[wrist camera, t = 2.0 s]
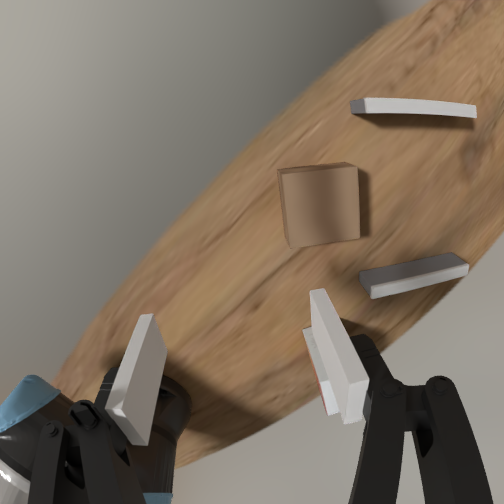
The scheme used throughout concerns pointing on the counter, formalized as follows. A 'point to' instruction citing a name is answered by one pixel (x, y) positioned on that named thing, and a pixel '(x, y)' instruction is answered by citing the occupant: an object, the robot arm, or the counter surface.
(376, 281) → the corridor walls
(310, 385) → the counter surface
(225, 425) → the counter surface
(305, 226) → the walnut block
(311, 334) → the small box
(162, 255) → the counter surface
